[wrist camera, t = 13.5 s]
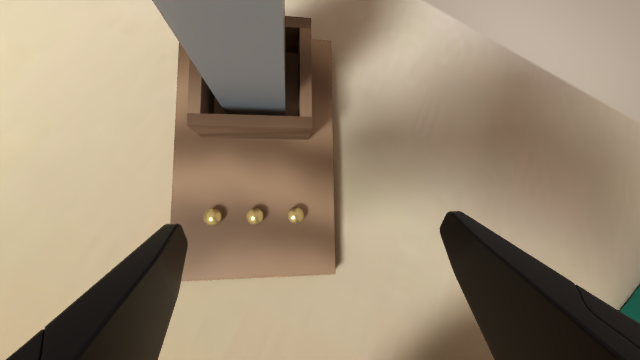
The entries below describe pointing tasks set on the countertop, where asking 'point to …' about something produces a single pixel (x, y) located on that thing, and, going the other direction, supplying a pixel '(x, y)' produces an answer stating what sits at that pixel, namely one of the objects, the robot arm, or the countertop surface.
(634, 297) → the digital multimeter
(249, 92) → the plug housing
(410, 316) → the countertop surface
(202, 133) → the walnut holder
